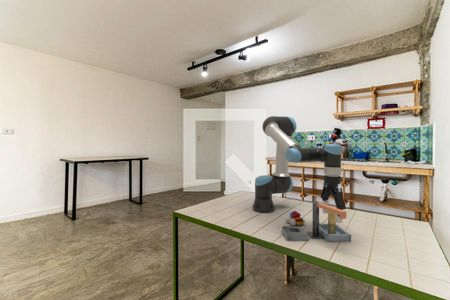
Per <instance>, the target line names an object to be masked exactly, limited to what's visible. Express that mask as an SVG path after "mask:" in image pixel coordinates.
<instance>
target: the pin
mask: <svg viewBox="0 0 450 300" xmlns="http://www.w3.org/2000/svg"><path fill="white" fill-rule="evenodd" d="M327 224H328V234H336V224H337V223H336V213H333V212H331V211H328V213H327Z"/></svg>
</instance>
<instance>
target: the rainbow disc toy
mask: <svg viewBox="0 0 450 300" xmlns="http://www.w3.org/2000/svg"><path fill="white" fill-rule="evenodd" d="M285 221H286V222H287V224H290V226H303V225H305V224H306V220H305V218H303V217H302V216H301V213H300V212H297V210H293V211H290V212H289V215H288V216H286V218H285Z"/></svg>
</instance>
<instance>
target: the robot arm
mask: <svg viewBox="0 0 450 300" xmlns="http://www.w3.org/2000/svg"><path fill="white" fill-rule="evenodd" d="M296 130H297V122H296V121H295V119H294V118H293V117H291V116H275V115H272V116H268V117H267V118H266V119H265V120H264V121H263V122H262V131H263V133H264V135H266V136H268V137H270V138H272V140H273V142H275V143H276V151H275V152H276V154H275V172H273V173H272V175H269V174H266V175H265V174H264V175H260V176H259V175H258V176H257V177H255V179H254V200H253V204H252V210H253V211H254V212H257V213H260V214H261V213H263V214H264V213H265V214H267V213H273V212H275V209H276V208H275V204H274V201H273V195H276V194H286V193H290V192H291V191H292V189H293V188H294V181H293V178H292V177H291V175H290V174H289V163H293V164H296V163H297V164H298V163H323V166H324V168H323V173H324V176H323V185H322V190H321V194H320V198H321V200H322V204H325V205H328V206H330V205H329V204H330V203H329V198H330V196H331V197H333V200H334V204H335V208H337V209H340V210H343V211H344V210H346V209H347V207H346V203H345V199H344V194H343V187H339V185H341V183H342V154H343V153H342V145H340V144H338V143H337V144H333V143H331V144H329V143H326V144H324V146H323V147H301V146H299V145H298V144H297V142H295V141H294V140H293V139H292V137H293V134H295V132H296ZM322 214H328V210H325V209H322ZM336 224H343V219H341V218H340V215H339V214H336Z"/></svg>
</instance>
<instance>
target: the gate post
mask: <svg viewBox="0 0 450 300" xmlns="http://www.w3.org/2000/svg"><path fill="white" fill-rule="evenodd" d="M319 224H320V207H317V206H313V205H312V227H311V228H312V230H311V231H306V232H307V233H308V237H309V238H311V240H325V237H324V236H323V235H322V234H321V233H320V232H319Z"/></svg>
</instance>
